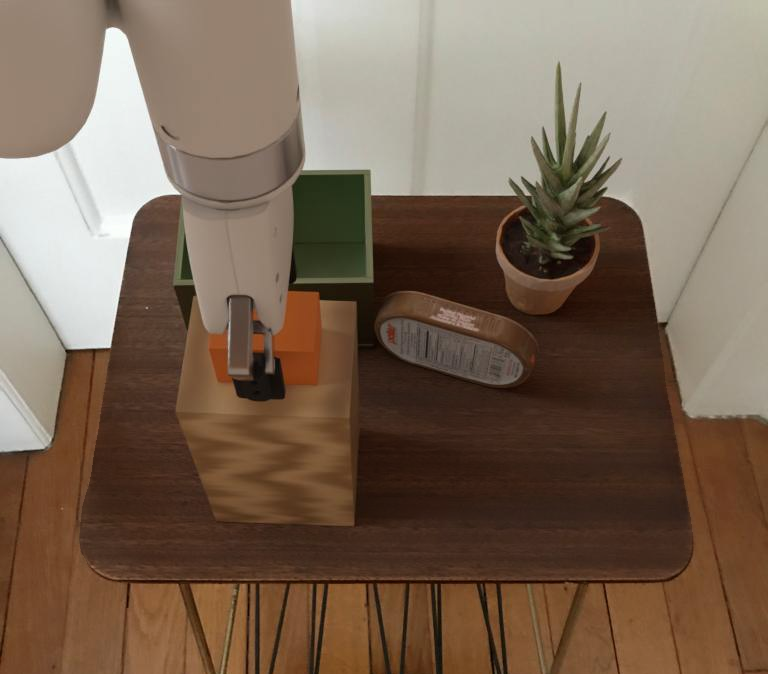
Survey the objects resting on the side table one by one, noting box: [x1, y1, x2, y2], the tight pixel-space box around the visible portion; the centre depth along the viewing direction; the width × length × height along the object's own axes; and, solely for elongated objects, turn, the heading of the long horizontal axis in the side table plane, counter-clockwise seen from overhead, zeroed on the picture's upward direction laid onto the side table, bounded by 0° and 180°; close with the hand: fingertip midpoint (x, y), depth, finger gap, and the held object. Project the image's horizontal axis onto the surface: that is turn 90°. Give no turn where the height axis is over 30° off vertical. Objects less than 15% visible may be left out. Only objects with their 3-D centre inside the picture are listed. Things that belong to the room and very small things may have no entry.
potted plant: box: [495, 60, 623, 316], centre depth 78 cm, size 10×10×25 cm
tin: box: [374, 290, 540, 389], centre depth 81 cm, size 15×3×8 cm, turn 71°
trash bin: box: [172, 169, 375, 349], centre depth 84 cm, size 13×17×10 cm
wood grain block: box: [174, 296, 361, 527], centre depth 72 cm, size 12×10×18 cm
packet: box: [208, 291, 322, 386], centre depth 62 cm, size 7×5×4 cm
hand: (268, 335), depth 62 cm, fingers open, 9 cm apart
